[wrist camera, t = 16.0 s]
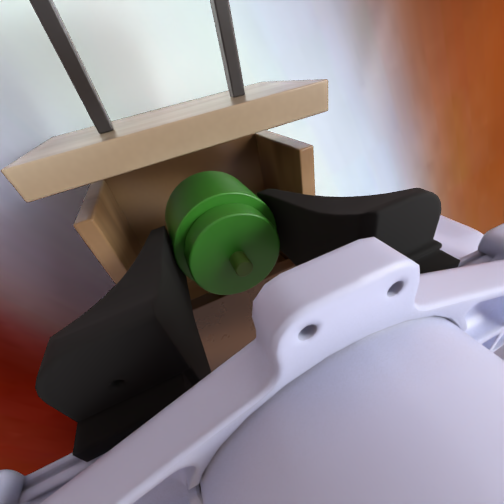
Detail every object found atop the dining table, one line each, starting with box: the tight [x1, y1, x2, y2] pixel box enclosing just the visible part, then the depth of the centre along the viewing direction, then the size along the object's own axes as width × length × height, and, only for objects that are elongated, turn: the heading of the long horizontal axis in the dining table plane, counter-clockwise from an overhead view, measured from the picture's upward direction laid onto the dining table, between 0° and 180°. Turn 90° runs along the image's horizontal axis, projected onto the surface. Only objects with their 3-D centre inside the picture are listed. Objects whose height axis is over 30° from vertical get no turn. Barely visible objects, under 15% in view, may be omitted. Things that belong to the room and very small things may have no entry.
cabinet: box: [191, 259, 296, 372], centre depth 21 cm, size 14×14×9 cm
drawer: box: [1, 0, 328, 300], centre depth 14 cm, size 18×12×7 cm
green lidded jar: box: [165, 171, 280, 295], centre depth 11 cm, size 5×5×5 cm
